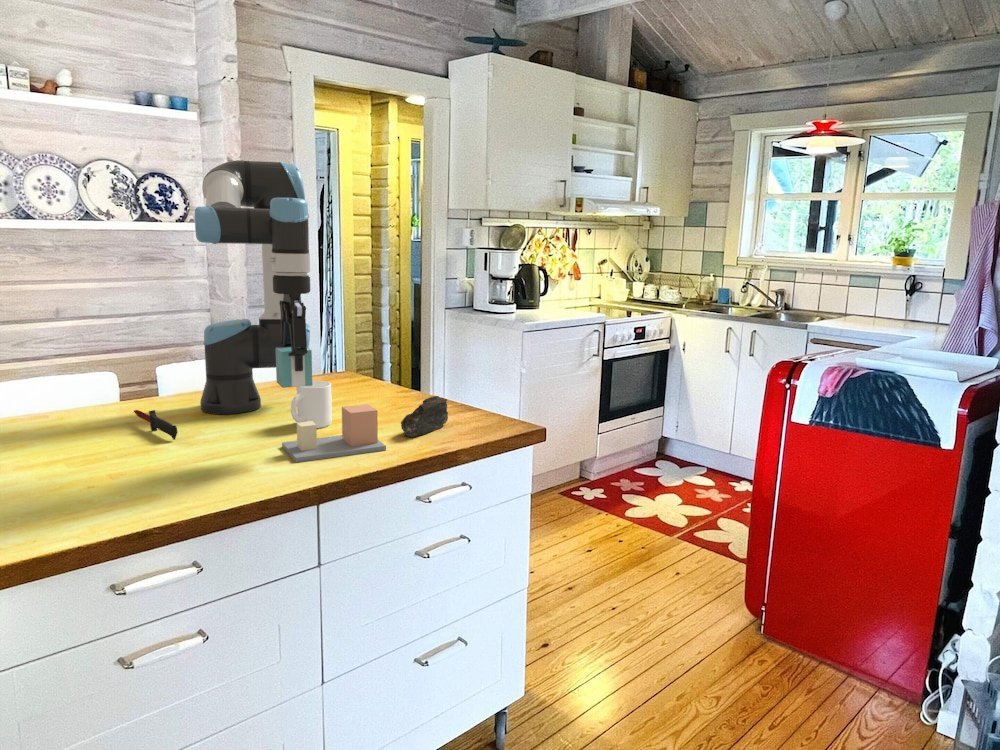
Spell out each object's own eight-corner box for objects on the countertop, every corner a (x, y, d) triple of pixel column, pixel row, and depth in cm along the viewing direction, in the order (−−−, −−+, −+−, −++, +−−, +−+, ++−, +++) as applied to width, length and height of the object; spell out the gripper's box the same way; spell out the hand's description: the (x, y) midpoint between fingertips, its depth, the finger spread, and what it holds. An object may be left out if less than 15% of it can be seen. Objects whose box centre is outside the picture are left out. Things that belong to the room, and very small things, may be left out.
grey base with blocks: (282, 446, 159) (280, 409, 157) (367, 436, 169) (367, 400, 167) (295, 462, 149) (294, 422, 147) (386, 450, 159) (385, 412, 157)
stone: (423, 421, 183) (397, 438, 169) (423, 390, 181) (397, 406, 167) (448, 425, 181) (424, 443, 167) (449, 394, 179) (425, 410, 165)
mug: (304, 434, 169) (303, 392, 167) (279, 429, 173) (277, 387, 171) (338, 423, 179) (338, 383, 177) (314, 418, 183) (313, 379, 181)
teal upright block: (276, 382, 154) (275, 347, 152) (305, 380, 156) (304, 346, 155) (282, 387, 148) (281, 351, 147) (312, 385, 151) (311, 350, 150)
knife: (178, 441, 161) (177, 420, 160) (171, 442, 160) (170, 421, 159) (137, 420, 177) (135, 400, 176) (131, 421, 176) (129, 401, 175)
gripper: (264, 271, 155) (268, 376, 159) (282, 276, 138) (286, 393, 142) (299, 271, 158) (302, 373, 162) (321, 276, 141) (323, 390, 146)
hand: (294, 382), depth 152 cm, fingers closed on teal upright block, 6 cm apart
